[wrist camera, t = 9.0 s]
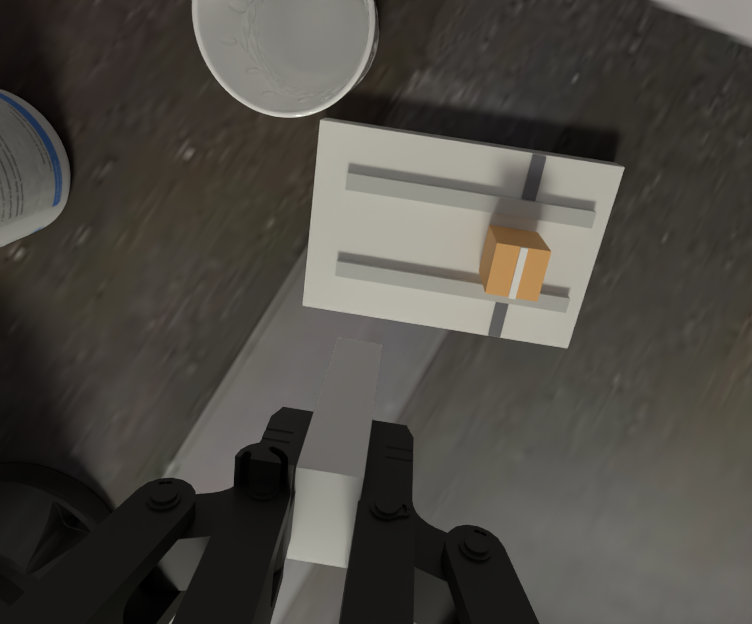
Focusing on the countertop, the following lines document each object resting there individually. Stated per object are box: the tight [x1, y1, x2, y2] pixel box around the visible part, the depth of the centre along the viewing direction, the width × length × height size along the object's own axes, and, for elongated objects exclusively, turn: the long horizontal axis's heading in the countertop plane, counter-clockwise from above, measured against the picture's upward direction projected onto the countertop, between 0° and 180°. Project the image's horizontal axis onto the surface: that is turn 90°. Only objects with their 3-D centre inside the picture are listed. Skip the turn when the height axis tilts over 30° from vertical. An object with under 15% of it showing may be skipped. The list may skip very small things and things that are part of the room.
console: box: [303, 118, 625, 348], centre depth 36 cm, size 18×12×3 cm, turn 82°
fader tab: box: [479, 225, 551, 302], centre depth 33 cm, size 3×3×4 cm
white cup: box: [192, 0, 379, 117], centre depth 28 cm, size 8×8×10 cm
